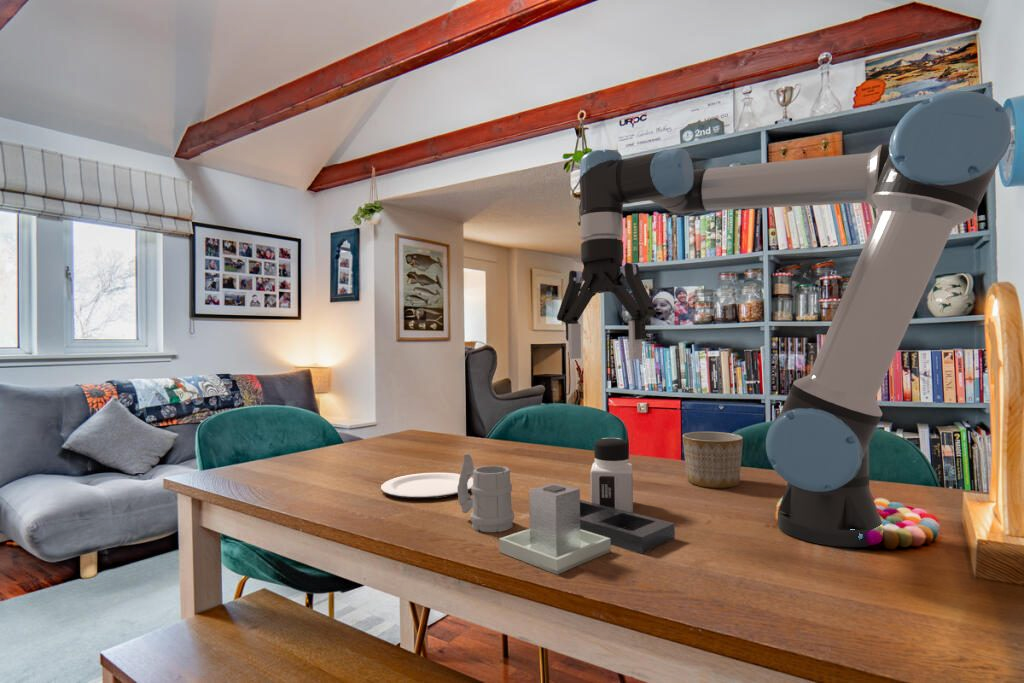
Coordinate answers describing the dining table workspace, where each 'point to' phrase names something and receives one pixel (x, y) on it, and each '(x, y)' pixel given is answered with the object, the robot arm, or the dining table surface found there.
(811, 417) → the robot arm
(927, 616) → the dining table surface
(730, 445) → the planter
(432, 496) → the plate
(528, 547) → the tray
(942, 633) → the dining table surface
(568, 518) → the tall square peg
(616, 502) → the container
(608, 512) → the peg socket board
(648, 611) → the dining table surface
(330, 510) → the dining table surface
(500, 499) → the mug
